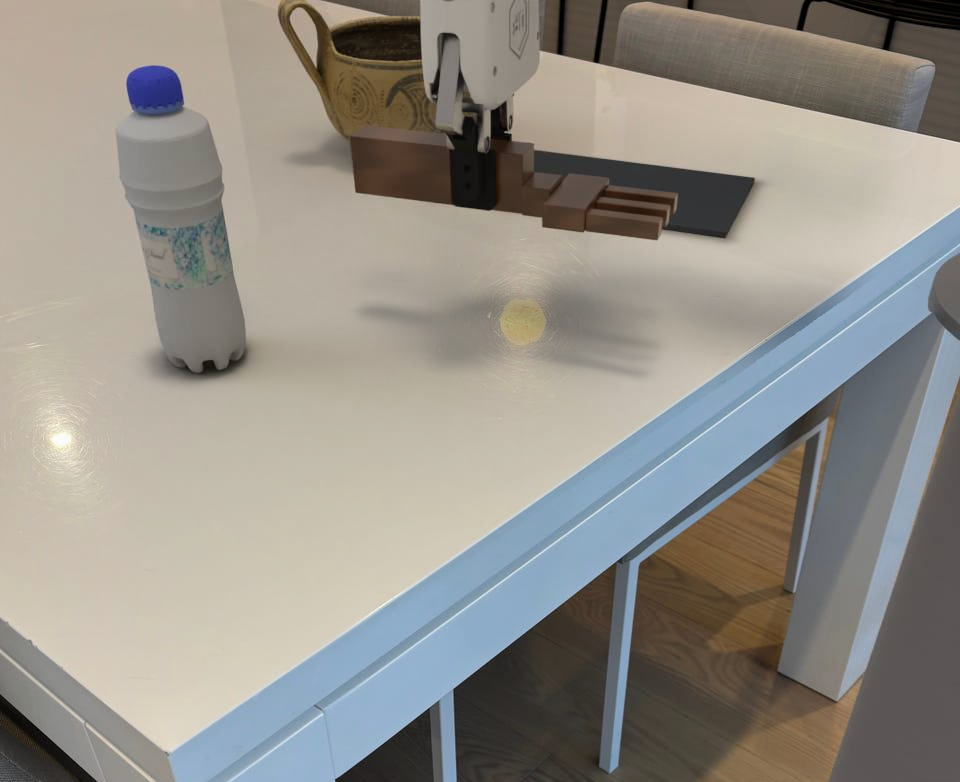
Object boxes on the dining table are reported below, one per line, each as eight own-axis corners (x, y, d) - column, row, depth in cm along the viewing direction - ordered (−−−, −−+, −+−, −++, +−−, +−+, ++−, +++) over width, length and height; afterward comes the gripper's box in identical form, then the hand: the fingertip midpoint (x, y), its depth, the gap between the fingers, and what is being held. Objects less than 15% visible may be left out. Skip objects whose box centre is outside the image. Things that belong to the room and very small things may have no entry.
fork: (344, 202, 78) (337, 144, 75) (379, 172, 82) (374, 116, 79) (656, 242, 71) (661, 180, 68) (677, 208, 75) (683, 149, 72)
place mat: (754, 182, 106) (755, 177, 105) (725, 237, 96) (726, 232, 96) (487, 148, 113) (487, 143, 113) (436, 196, 104) (436, 191, 103)
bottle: (147, 354, 81) (78, 64, 68) (226, 328, 84) (176, 45, 71) (187, 390, 77) (122, 90, 64) (269, 361, 80) (224, 69, 67)
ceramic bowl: (315, 195, 104) (296, 21, 94) (281, 138, 116) (261, -22, 106) (531, 166, 109) (535, -2, 99) (477, 115, 121) (476, -40, 111)
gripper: (486, -84, 58) (491, 251, 70) (575, -133, 69) (566, 165, 81) (359, -90, 60) (387, 236, 72) (466, -136, 71) (474, 154, 83)
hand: (482, 196), depth 77 cm, fingers closed on fork, 2 cm apart
